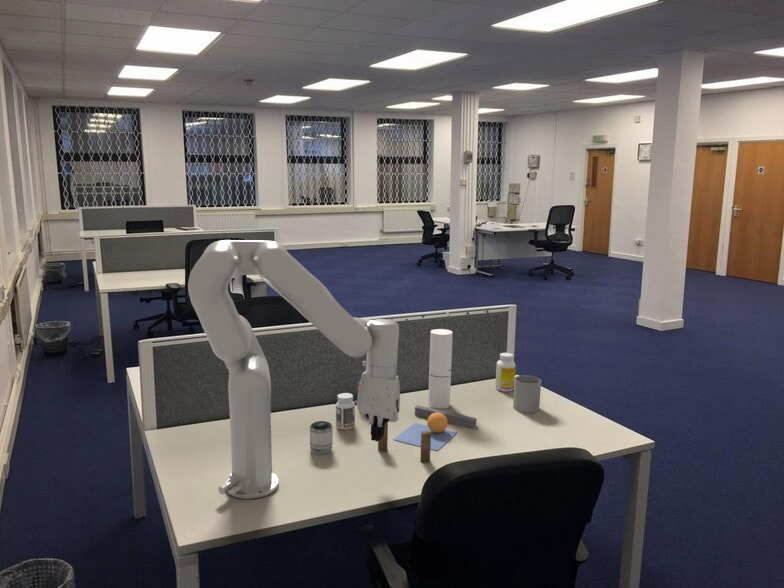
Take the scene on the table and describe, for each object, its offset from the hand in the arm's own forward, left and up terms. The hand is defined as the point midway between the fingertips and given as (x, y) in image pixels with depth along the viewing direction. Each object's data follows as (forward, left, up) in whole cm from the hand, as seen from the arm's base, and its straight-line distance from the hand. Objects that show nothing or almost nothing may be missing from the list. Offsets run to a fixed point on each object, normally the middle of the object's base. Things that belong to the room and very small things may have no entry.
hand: (376, 439), depth 159 cm
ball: (+32, -2, -7) cm, 33 cm away
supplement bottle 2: (+79, -8, -10) cm, 80 cm away
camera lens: (+5, +20, -10) cm, 23 cm away
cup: (+65, -20, -10) cm, 68 cm away
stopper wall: (+42, -1, -10) cm, 43 cm away
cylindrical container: (+53, +6, -10) cm, 54 cm away
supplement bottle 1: (+38, +25, -10) cm, 46 cm away
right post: (+14, -7, -10) cm, 18 cm away
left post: (+14, +6, -10) cm, 18 cm away
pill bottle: (+22, +23, -10) cm, 33 cm away
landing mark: (+28, -1, -10) cm, 29 cm away
